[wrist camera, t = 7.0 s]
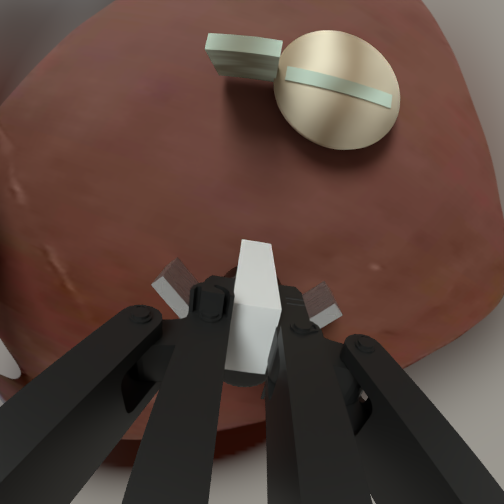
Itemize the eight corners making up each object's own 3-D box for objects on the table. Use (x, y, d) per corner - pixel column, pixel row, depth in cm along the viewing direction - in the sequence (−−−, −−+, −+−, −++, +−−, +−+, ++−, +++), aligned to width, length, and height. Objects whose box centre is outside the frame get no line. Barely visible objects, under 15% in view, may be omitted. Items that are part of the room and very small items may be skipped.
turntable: (209, 127, 24) (191, 117, 17) (231, 18, 20) (222, -18, 13) (385, 163, 24) (421, 167, 18) (398, 57, 20) (432, 36, 14)
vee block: (165, 333, 33) (152, 358, 28) (167, 255, 29) (151, 273, 25) (310, 355, 33) (316, 383, 28) (334, 282, 30) (346, 304, 25)
